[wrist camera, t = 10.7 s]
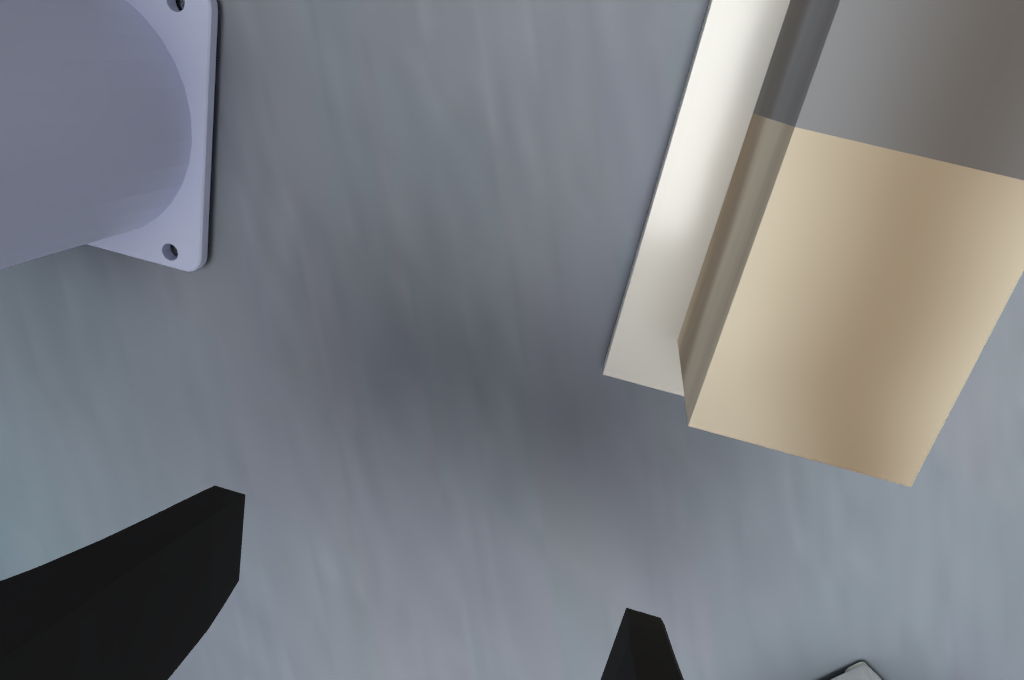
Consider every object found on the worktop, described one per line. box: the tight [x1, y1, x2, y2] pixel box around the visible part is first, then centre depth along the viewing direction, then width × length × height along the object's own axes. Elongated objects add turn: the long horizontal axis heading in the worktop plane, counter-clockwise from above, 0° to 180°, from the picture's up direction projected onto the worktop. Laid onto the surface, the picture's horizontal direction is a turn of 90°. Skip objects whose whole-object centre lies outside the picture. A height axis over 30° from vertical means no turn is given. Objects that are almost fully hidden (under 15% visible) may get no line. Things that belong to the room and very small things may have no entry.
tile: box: [603, 0, 790, 396], centre depth 17 cm, size 8×12×1 cm, turn 168°
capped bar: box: [677, 0, 1024, 487], centre depth 15 cm, size 4×9×5 cm, turn 168°
